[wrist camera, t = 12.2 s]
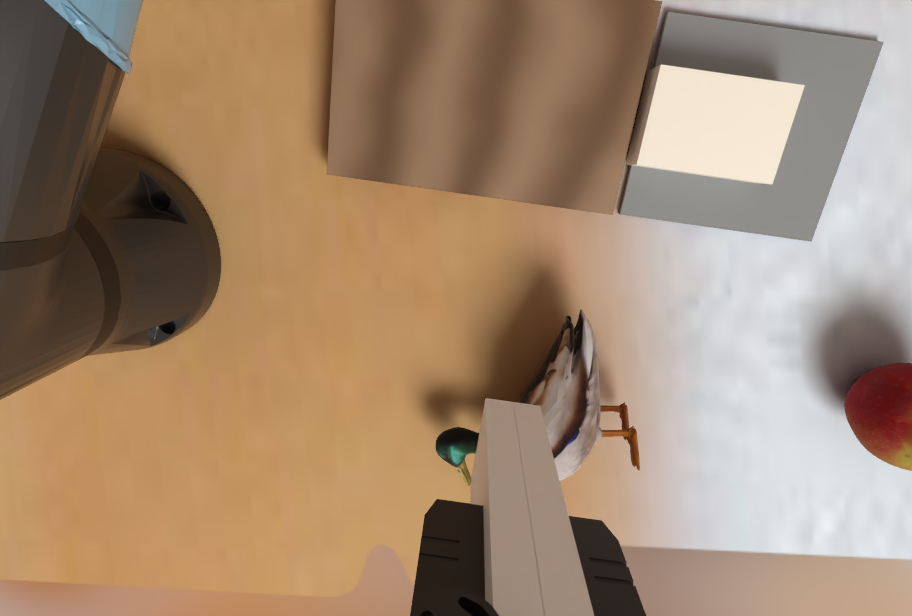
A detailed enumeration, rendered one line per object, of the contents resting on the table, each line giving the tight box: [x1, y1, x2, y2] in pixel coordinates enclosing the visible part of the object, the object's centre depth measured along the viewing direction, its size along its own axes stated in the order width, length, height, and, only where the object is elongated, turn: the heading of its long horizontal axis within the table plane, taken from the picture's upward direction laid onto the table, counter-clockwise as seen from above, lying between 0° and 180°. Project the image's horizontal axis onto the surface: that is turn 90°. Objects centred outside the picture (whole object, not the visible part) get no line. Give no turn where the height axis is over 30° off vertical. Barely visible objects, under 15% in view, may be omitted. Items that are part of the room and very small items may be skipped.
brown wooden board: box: [327, 0, 662, 215], centre depth 32 cm, size 20×13×2 cm, turn 82°
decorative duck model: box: [436, 310, 640, 486], centre depth 36 cm, size 15×8×15 cm
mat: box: [619, 12, 883, 241], centre depth 33 cm, size 14×13×1 cm
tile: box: [626, 64, 805, 184], centre depth 32 cm, size 9×6×2 cm, turn 82°
